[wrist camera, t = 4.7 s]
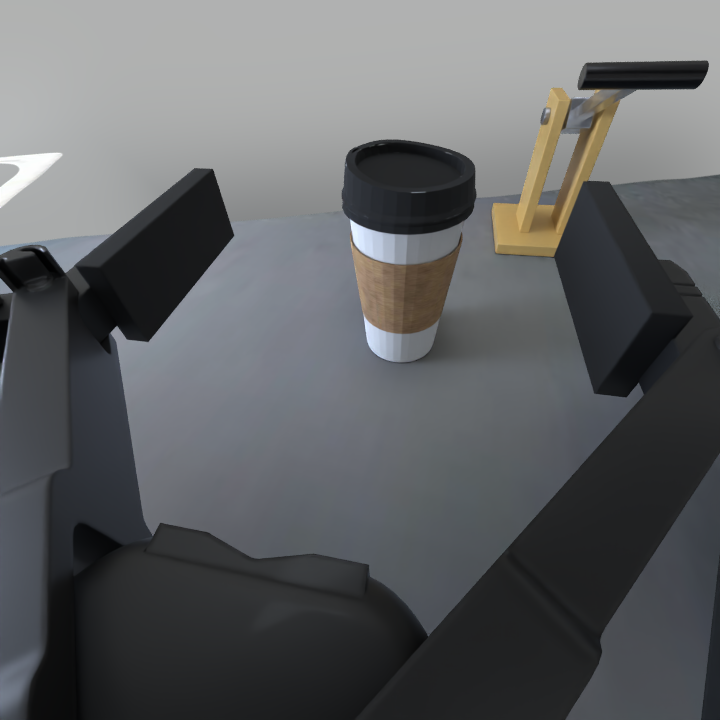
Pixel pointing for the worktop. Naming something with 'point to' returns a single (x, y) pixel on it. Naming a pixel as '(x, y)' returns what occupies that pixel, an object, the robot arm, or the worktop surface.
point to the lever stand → (544, 222)
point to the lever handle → (626, 85)
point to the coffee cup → (405, 238)
